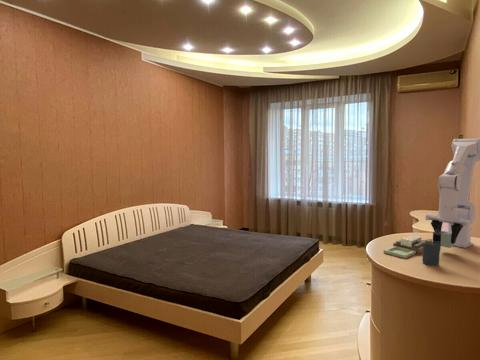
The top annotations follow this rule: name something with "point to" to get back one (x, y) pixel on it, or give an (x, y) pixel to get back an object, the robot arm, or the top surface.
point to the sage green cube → (446, 239)
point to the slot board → (416, 247)
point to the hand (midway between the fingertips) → (445, 241)
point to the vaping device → (432, 249)
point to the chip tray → (399, 252)
